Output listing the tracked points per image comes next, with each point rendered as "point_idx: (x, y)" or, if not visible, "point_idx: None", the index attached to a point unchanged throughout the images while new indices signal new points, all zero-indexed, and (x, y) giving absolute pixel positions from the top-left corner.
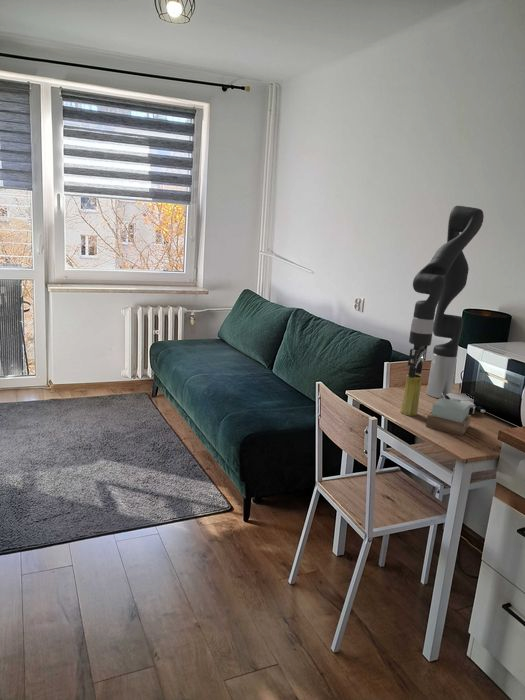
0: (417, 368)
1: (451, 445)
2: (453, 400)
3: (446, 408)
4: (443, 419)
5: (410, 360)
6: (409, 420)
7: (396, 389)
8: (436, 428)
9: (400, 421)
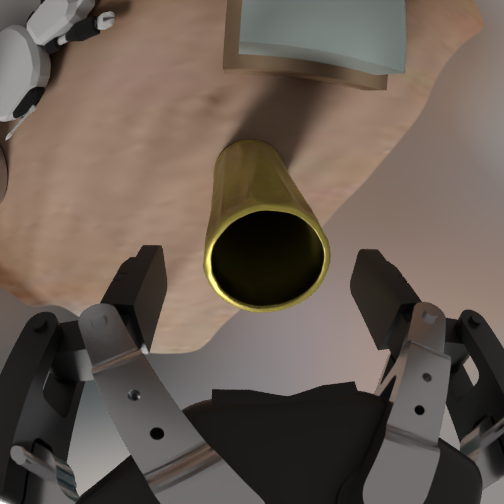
0: (156, 300)
1: (454, 30)
2: (40, 69)
3: (402, 15)
4: None
5: (455, 389)
6: (336, 152)
7: (42, 284)
8: None
9: (365, 179)
